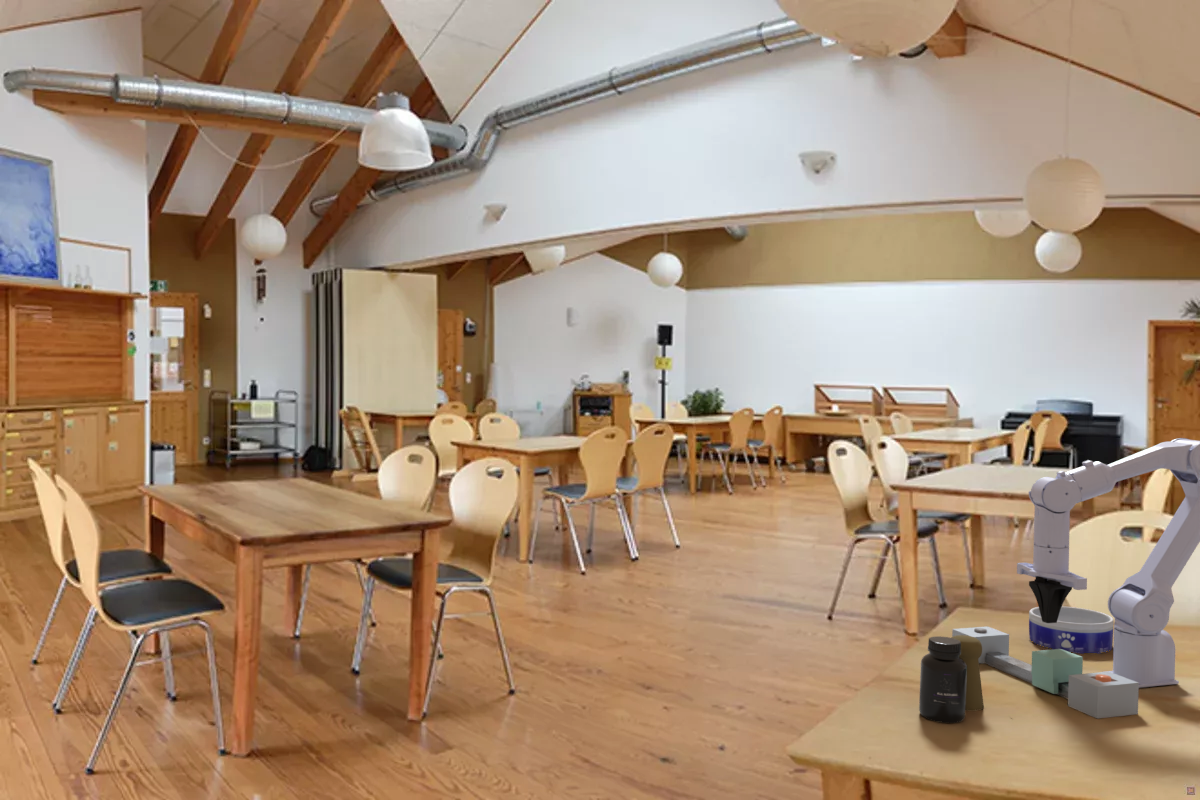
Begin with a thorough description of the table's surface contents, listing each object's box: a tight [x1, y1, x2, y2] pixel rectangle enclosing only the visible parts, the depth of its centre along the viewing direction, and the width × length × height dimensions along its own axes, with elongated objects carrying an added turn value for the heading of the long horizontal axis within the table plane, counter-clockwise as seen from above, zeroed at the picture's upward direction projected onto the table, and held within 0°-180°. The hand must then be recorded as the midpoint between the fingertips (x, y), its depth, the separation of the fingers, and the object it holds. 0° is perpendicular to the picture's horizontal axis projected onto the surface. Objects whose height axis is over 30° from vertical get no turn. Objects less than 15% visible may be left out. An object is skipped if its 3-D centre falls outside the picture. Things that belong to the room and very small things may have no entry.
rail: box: [985, 652, 1069, 700], centre depth 168 cm, size 3×22×2 cm, turn 17°
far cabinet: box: [951, 625, 1010, 664], centre depth 182 cm, size 8×6×5 cm
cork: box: [950, 635, 985, 712], centre depth 155 cm, size 6×6×11 cm
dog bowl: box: [1028, 605, 1115, 654], centre depth 193 cm, size 15×15×6 cm
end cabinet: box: [1067, 670, 1140, 719], centre depth 153 cm, size 8×6×5 cm
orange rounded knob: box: [1096, 674, 1111, 682], centre depth 153 cm, size 2×2×4 cm
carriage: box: [1031, 649, 1084, 695], centre depth 163 cm, size 6×5×6 cm
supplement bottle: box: [918, 635, 967, 724], centre depth 149 cm, size 7×7×12 cm
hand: (1049, 622), depth 170 cm, fingers closed
